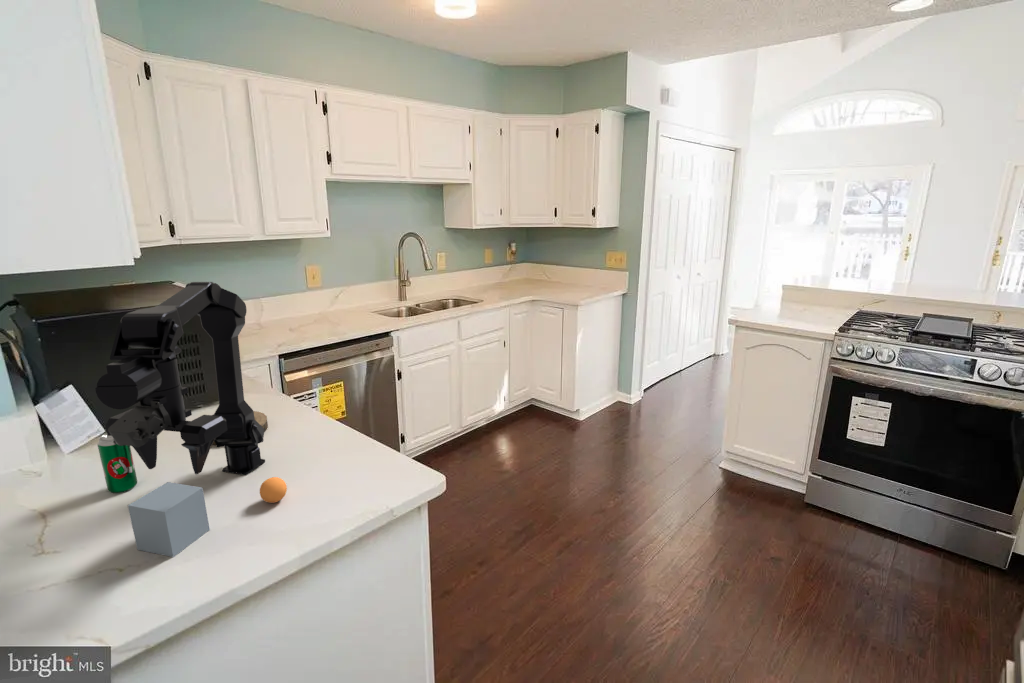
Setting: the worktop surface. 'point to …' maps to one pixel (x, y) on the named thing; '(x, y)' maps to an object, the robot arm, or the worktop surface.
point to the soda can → (117, 465)
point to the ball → (273, 489)
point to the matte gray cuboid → (169, 518)
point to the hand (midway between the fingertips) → (175, 470)
